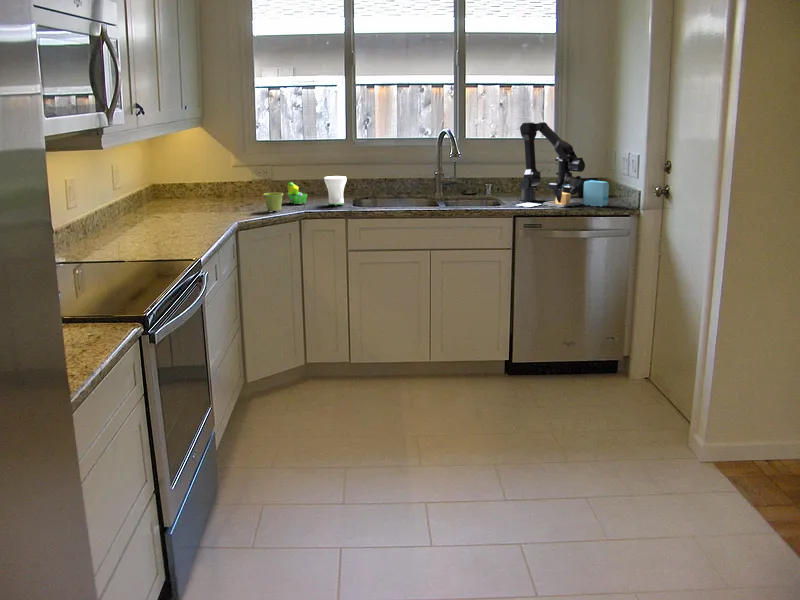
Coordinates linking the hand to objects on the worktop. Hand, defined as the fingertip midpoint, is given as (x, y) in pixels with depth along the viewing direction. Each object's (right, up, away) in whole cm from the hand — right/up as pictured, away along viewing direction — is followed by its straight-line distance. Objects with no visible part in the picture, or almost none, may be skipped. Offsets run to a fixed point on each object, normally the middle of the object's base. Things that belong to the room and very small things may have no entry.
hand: (562, 202), depth 386 cm
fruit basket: (-135, +1, +16) cm, 136 cm away
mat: (-17, -2, -1) cm, 17 cm away
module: (0, -2, 0) cm, 2 cm away
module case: (0, -1, 0) cm, 2 cm away
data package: (+16, -2, -2) cm, 16 cm away
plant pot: (-142, -6, -8) cm, 143 cm away
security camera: (+16, +6, +29) cm, 33 cm away
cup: (-114, -1, +9) cm, 114 cm away
